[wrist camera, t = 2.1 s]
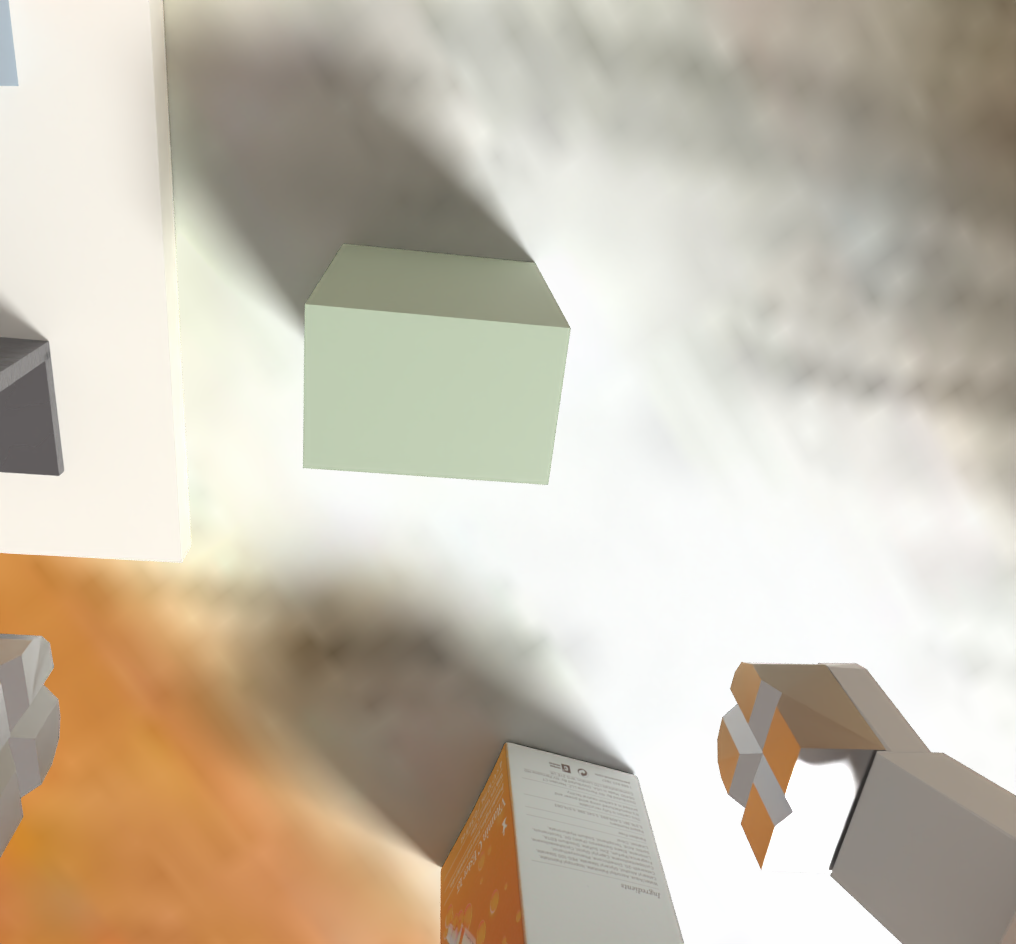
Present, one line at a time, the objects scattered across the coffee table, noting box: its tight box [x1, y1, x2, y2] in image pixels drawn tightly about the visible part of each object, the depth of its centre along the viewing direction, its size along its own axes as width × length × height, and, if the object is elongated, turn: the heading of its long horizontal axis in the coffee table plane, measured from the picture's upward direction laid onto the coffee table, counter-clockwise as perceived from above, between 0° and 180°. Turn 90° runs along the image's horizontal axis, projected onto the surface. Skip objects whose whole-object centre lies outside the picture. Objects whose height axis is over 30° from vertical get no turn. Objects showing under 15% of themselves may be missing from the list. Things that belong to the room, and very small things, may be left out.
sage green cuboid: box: [303, 244, 571, 485], centre depth 23 cm, size 6×4×8 cm, turn 84°
